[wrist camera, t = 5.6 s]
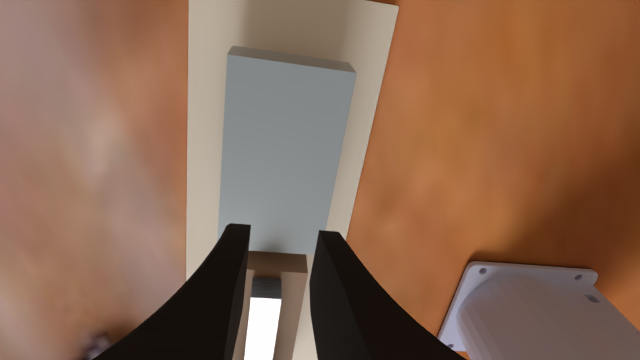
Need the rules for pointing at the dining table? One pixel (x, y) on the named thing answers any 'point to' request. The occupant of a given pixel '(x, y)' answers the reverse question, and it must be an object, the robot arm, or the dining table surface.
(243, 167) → the cover
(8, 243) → the dining table surface
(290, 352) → the latch box
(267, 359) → the bolt
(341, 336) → the robot arm
